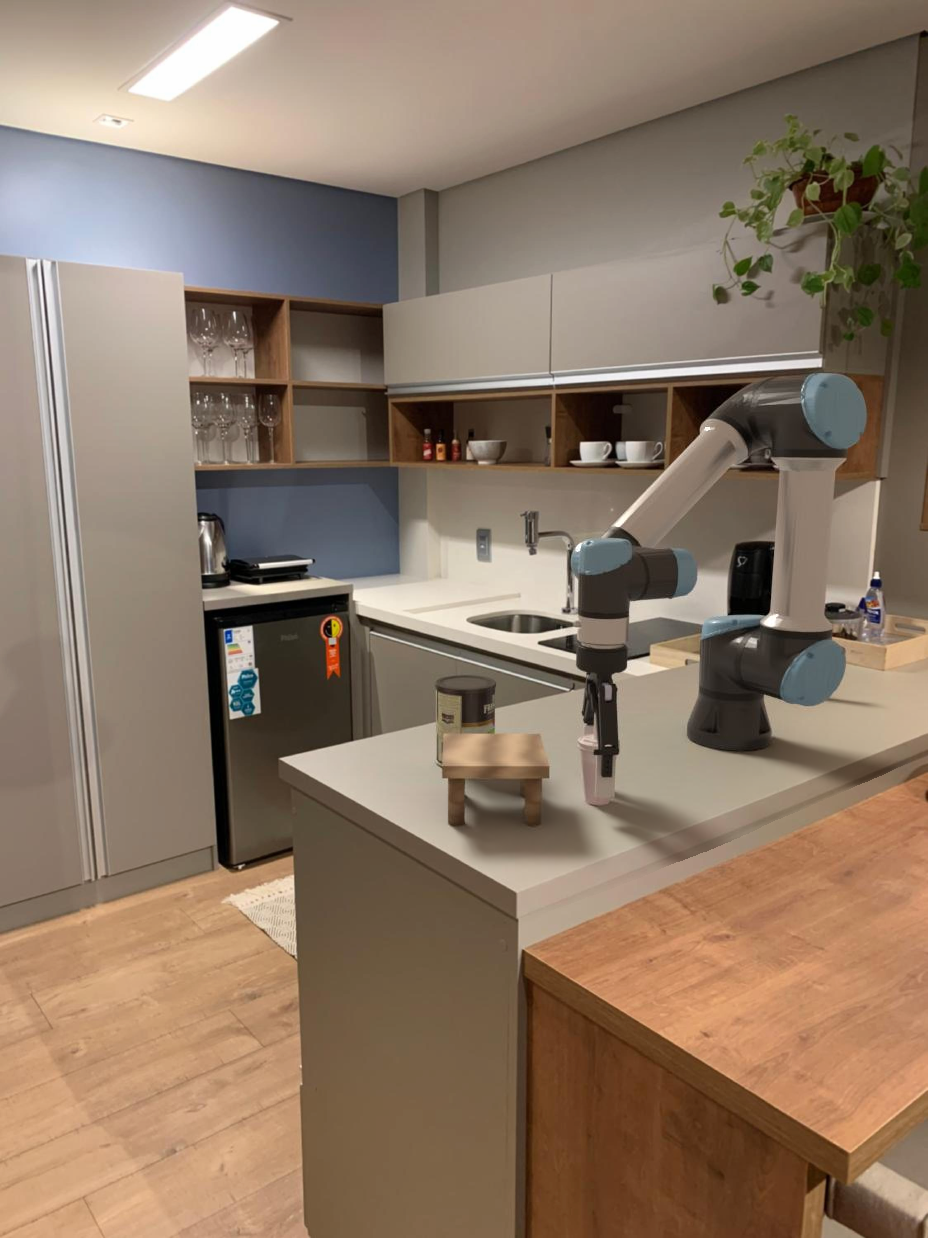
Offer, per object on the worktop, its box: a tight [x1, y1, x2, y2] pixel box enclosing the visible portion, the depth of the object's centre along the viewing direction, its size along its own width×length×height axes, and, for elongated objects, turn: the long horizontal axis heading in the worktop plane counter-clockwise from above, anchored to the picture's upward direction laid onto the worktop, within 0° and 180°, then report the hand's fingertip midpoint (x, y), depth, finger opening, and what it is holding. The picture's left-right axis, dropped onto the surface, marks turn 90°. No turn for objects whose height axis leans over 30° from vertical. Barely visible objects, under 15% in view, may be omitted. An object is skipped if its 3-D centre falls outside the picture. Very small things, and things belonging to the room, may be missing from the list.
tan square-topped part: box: [441, 733, 551, 827], centre depth 139 cm, size 15×15×9 cm
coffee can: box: [434, 674, 497, 768], centre depth 159 cm, size 10×10×14 cm
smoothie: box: [577, 713, 621, 806], centre depth 142 cm, size 6×6×14 cm
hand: (597, 780), depth 142 cm, fingers open, 13 cm apart
